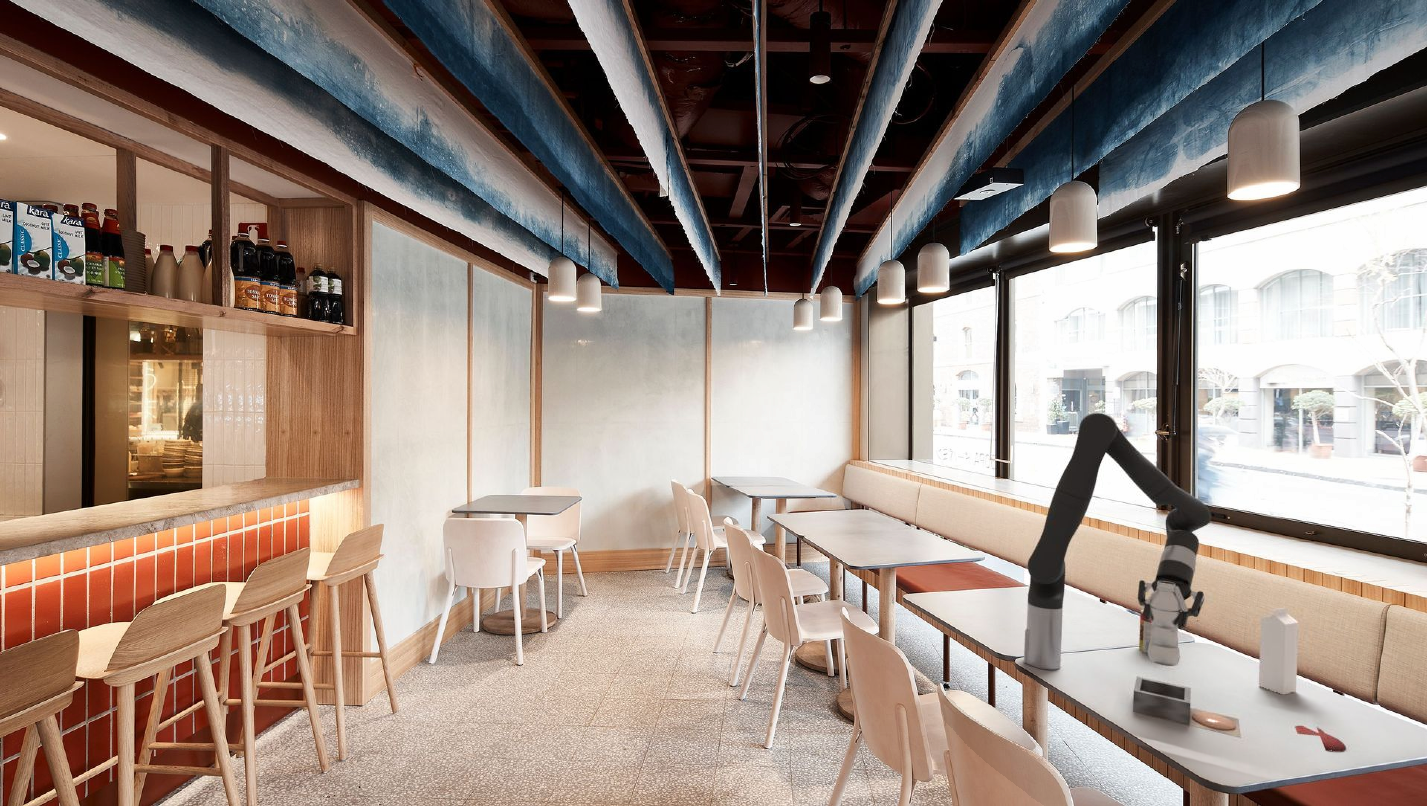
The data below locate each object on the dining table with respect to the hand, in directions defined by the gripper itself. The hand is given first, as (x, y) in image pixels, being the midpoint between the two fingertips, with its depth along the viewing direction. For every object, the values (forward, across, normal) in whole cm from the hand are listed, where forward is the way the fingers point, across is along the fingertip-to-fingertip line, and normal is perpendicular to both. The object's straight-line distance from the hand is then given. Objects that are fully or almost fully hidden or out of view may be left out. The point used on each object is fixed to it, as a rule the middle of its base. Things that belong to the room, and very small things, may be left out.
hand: (1163, 623), depth 171 cm
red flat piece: (+8, +25, +26) cm, 36 cm away
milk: (-16, +18, +49) cm, 55 cm away
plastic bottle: (+6, 0, +9) cm, 11 cm away
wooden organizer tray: (+15, +5, +18) cm, 24 cm away
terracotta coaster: (+13, +10, +17) cm, 24 cm away
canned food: (-22, -13, +55) cm, 60 cm away
